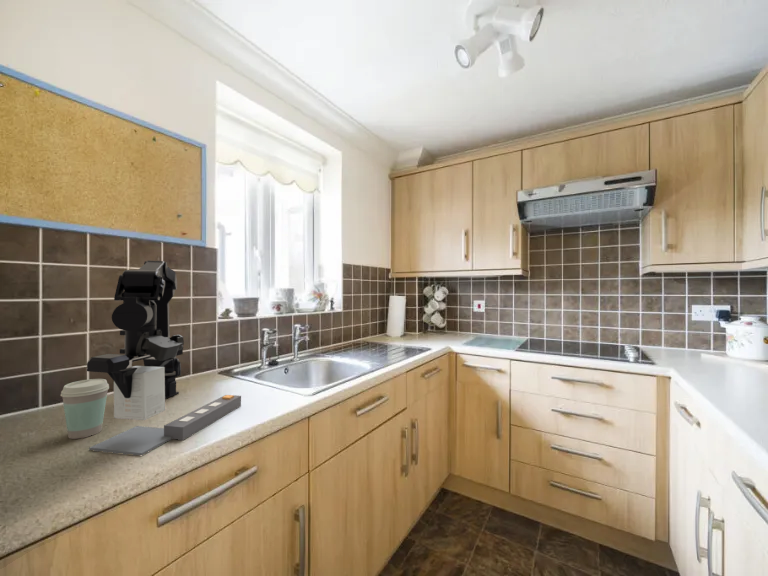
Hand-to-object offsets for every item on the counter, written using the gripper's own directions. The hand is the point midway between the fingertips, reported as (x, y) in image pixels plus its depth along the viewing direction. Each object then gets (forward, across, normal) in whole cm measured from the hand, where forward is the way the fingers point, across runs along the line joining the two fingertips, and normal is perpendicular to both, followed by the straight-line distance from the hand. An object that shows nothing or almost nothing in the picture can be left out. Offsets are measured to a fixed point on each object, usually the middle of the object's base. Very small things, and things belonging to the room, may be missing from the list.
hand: (140, 393), depth 72 cm
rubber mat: (+11, 0, 0) cm, 11 cm away
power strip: (+11, +13, -7) cm, 18 cm away
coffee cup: (+11, +1, +16) cm, 19 cm away
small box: (+5, 0, 0) cm, 5 cm away
